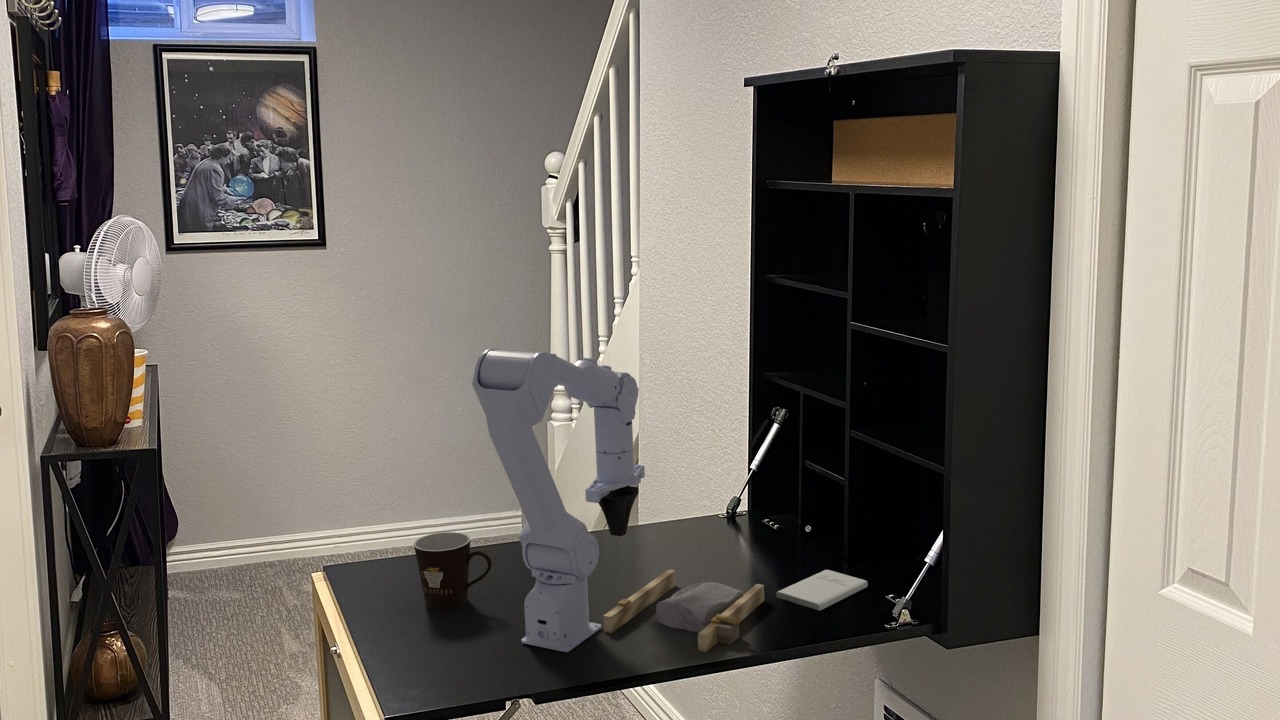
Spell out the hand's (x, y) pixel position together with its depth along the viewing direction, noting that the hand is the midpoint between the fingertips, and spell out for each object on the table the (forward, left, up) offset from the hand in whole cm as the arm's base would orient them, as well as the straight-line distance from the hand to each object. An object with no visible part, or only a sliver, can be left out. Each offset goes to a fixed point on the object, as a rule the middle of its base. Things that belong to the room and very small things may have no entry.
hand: (618, 534), depth 180 cm
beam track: (-3, -14, -10) cm, 18 cm away
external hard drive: (+14, -28, -11) cm, 33 cm away
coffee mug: (-14, +22, -10) cm, 28 cm away
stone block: (-2, -14, -10) cm, 18 cm away
